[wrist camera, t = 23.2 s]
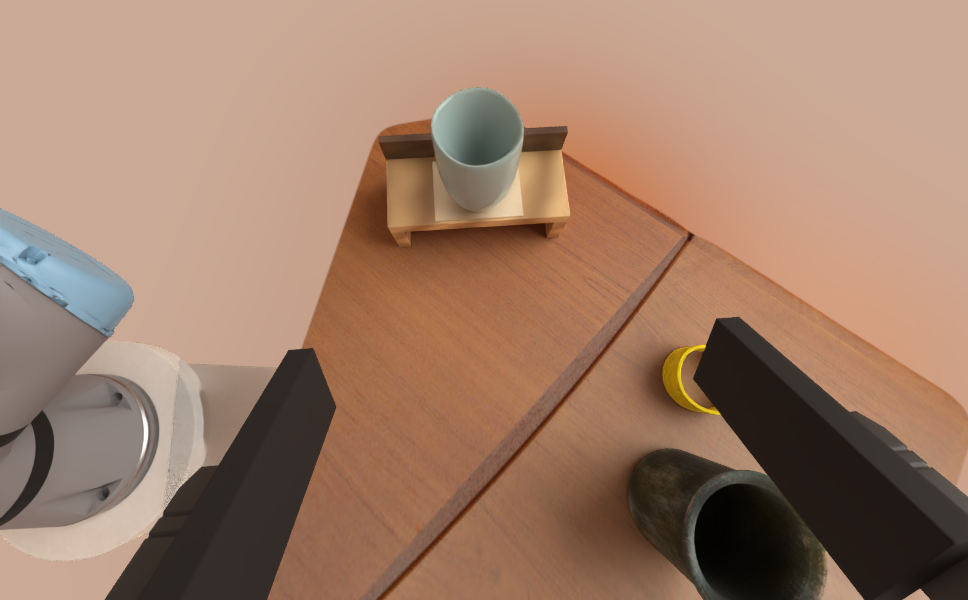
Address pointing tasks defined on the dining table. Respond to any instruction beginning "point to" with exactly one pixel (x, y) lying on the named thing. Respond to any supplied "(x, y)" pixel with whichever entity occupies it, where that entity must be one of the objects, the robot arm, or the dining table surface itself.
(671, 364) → the bracelet
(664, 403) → the dining table surface
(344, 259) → the dining table surface
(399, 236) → the shelf
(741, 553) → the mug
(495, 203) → the cup
